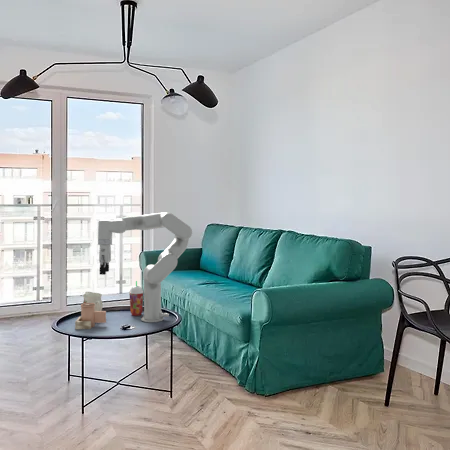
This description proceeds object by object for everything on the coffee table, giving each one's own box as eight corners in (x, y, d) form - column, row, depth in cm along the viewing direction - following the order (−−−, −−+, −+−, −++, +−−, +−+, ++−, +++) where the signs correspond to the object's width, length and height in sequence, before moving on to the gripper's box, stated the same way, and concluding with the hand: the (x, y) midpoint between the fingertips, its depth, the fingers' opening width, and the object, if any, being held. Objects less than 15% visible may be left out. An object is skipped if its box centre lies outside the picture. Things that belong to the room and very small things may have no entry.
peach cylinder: (106, 323, 279) (106, 302, 278) (104, 327, 272) (104, 305, 271) (82, 324, 278) (82, 302, 277) (79, 328, 270) (79, 306, 270)
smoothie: (144, 312, 304) (144, 279, 302) (142, 316, 296) (142, 282, 294) (130, 312, 304) (130, 279, 302) (128, 316, 295) (128, 282, 294)
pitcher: (91, 322, 281) (90, 298, 280) (77, 316, 295) (77, 292, 294) (109, 319, 288) (109, 295, 287) (95, 313, 302) (95, 290, 301)
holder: (94, 323, 280) (94, 316, 280) (90, 329, 269) (90, 321, 269) (79, 323, 280) (79, 316, 279) (75, 329, 268) (75, 321, 268)
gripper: (109, 243, 269) (108, 275, 270) (114, 240, 286) (113, 270, 287) (94, 243, 268) (94, 275, 269) (101, 240, 285) (100, 270, 287)
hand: (104, 272), depth 278 cm, fingers open, 9 cm apart
